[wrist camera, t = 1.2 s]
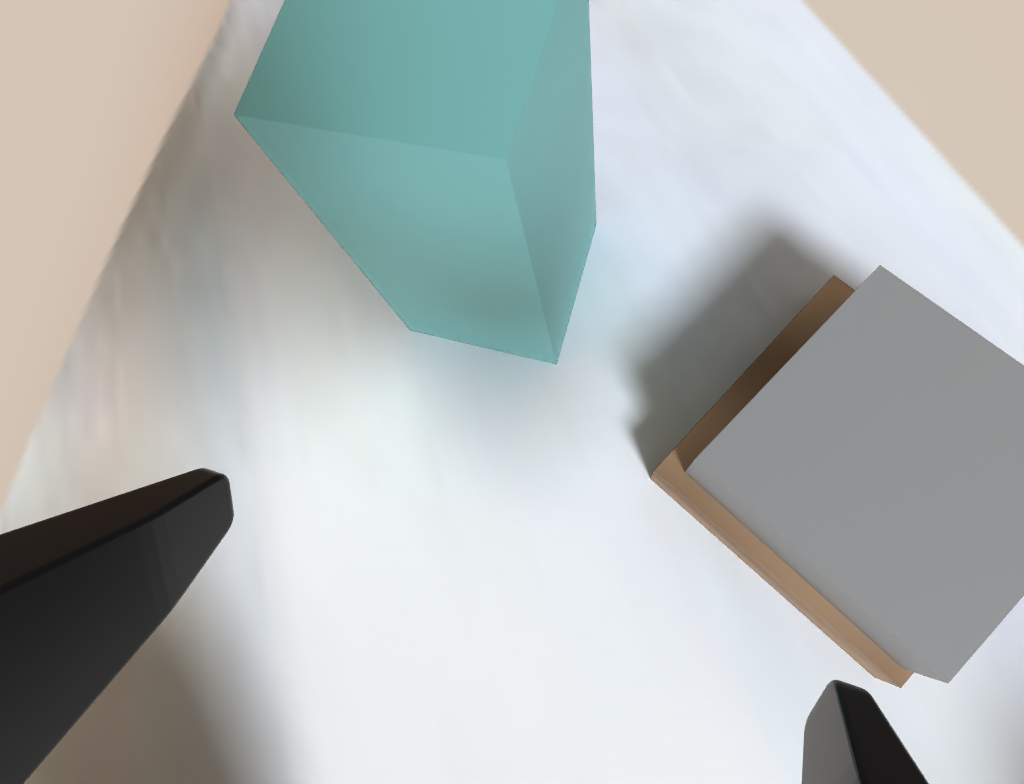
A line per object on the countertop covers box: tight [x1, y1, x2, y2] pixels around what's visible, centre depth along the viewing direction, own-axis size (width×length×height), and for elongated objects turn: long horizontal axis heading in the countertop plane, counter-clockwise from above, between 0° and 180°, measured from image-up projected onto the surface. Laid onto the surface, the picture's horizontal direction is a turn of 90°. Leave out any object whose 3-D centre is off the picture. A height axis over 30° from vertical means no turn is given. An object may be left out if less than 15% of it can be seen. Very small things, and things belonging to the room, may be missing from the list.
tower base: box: [650, 276, 914, 688], centre depth 21 cm, size 9×9×2 cm
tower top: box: [685, 265, 1024, 683], centre depth 18 cm, size 8×8×2 cm
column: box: [234, 0, 596, 364], centre depth 19 cm, size 6×6×12 cm
